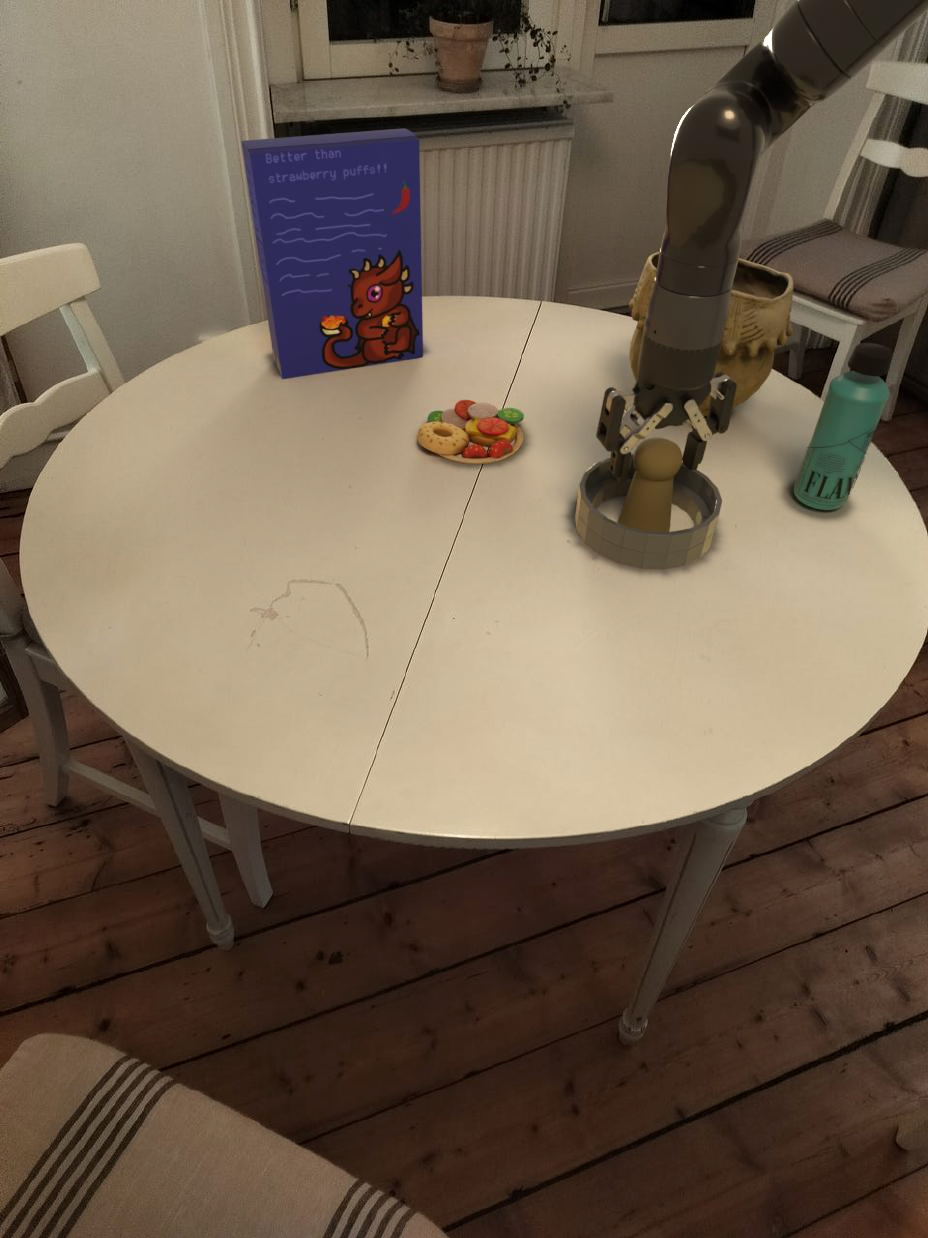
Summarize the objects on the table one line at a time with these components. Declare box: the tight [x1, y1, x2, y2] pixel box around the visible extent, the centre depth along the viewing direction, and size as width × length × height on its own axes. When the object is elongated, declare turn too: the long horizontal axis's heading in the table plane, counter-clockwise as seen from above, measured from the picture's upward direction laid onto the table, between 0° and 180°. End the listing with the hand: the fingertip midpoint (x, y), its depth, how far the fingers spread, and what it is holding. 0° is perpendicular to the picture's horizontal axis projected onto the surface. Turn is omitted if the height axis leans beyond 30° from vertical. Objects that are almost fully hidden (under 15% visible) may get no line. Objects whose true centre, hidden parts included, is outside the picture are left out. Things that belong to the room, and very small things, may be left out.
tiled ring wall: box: [574, 453, 723, 571], centre depth 95 cm, size 16×16×6 cm
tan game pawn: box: [617, 437, 683, 532], centre depth 92 cm, size 6×6×11 cm
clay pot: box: [628, 251, 794, 417], centre depth 111 cm, size 21×21×20 cm
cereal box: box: [240, 127, 424, 380], centre depth 116 cm, size 22×6×30 cm, turn 111°
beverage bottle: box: [793, 342, 894, 511], centre depth 94 cm, size 6×7×20 cm
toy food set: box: [416, 399, 525, 465], centre depth 109 cm, size 13×13×3 cm
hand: (654, 472), depth 91 cm, fingers open, 8 cm apart
